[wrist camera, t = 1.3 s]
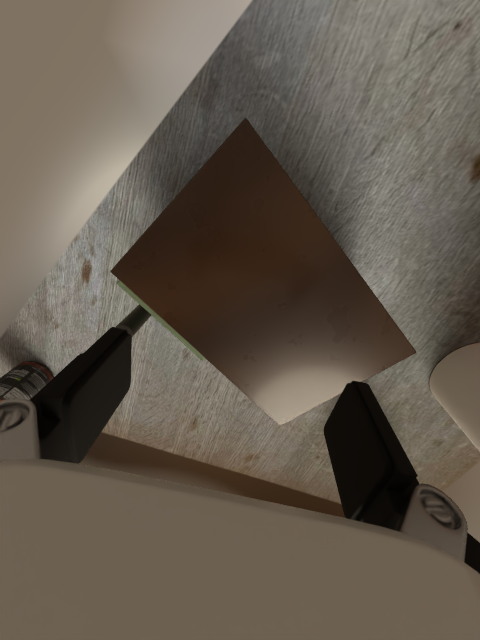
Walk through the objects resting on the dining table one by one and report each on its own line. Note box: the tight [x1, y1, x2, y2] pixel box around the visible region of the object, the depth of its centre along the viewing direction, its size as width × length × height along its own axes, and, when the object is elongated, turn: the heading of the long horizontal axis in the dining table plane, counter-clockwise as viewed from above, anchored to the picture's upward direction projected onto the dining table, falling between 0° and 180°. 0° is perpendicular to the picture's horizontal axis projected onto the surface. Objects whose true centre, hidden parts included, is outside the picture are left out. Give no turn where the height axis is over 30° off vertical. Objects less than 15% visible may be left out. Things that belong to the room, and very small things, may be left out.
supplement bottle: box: [0, 362, 53, 401], centre depth 36 cm, size 6×6×11 cm
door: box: [116, 280, 205, 360], centre depth 26 cm, size 9×6×12 cm
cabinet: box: [110, 118, 416, 426], centre depth 24 cm, size 18×12×14 cm, turn 42°
